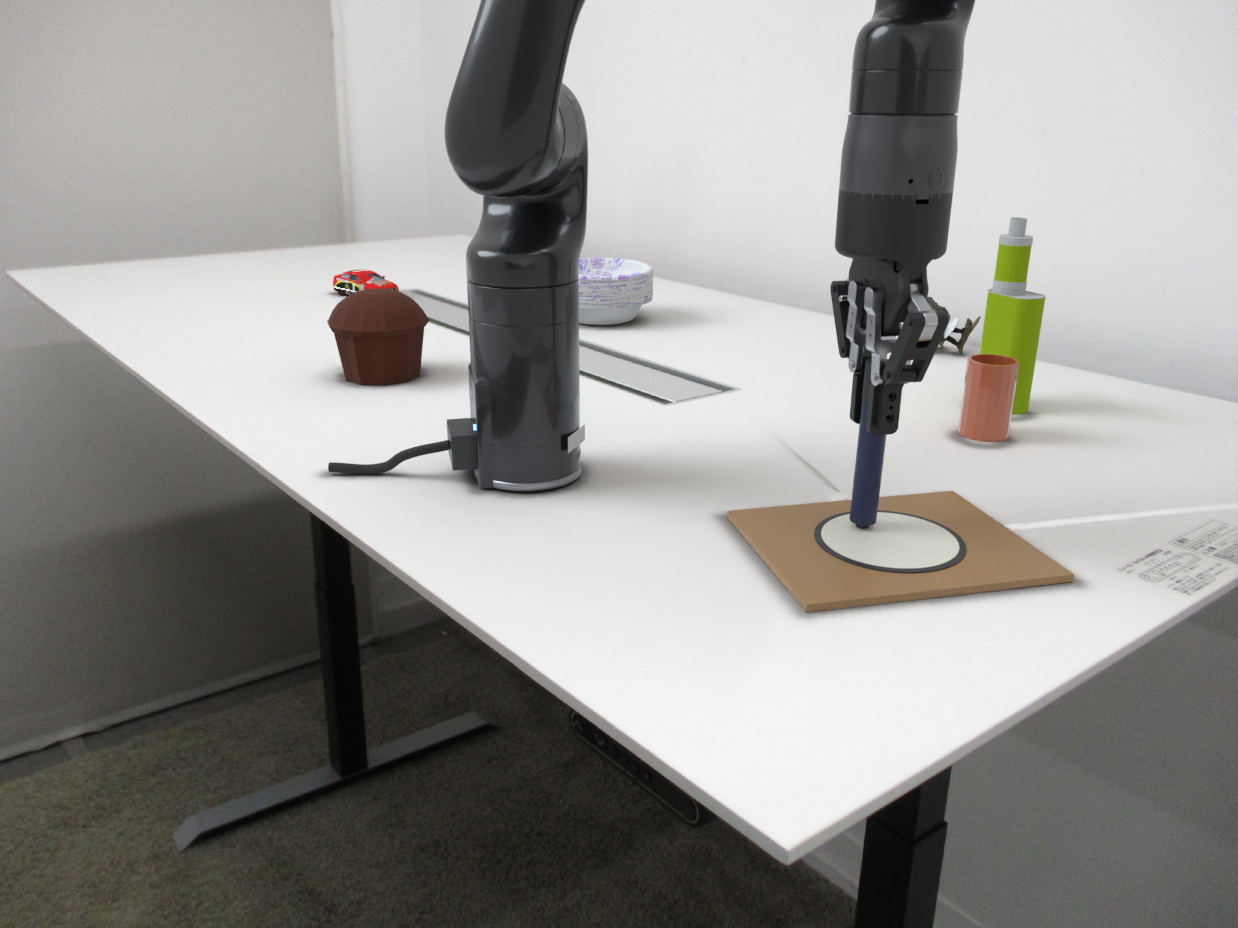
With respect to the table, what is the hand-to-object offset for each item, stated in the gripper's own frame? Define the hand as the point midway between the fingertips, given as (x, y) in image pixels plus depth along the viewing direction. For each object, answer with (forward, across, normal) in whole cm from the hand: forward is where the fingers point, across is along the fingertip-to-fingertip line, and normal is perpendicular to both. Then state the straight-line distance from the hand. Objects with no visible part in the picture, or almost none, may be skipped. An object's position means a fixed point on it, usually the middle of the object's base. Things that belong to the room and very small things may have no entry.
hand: (873, 426), depth 74 cm
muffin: (+9, -55, -35) cm, 65 cm away
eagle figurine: (+9, -53, +36) cm, 64 cm away
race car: (+9, -105, -37) cm, 111 cm away
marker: (+8, 0, 0) cm, 8 cm away
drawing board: (+9, +2, +1) cm, 9 cm away
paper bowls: (+9, -80, -3) cm, 80 cm away
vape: (+9, -27, +29) cm, 40 cm away
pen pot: (+9, -19, +22) cm, 30 cm away
